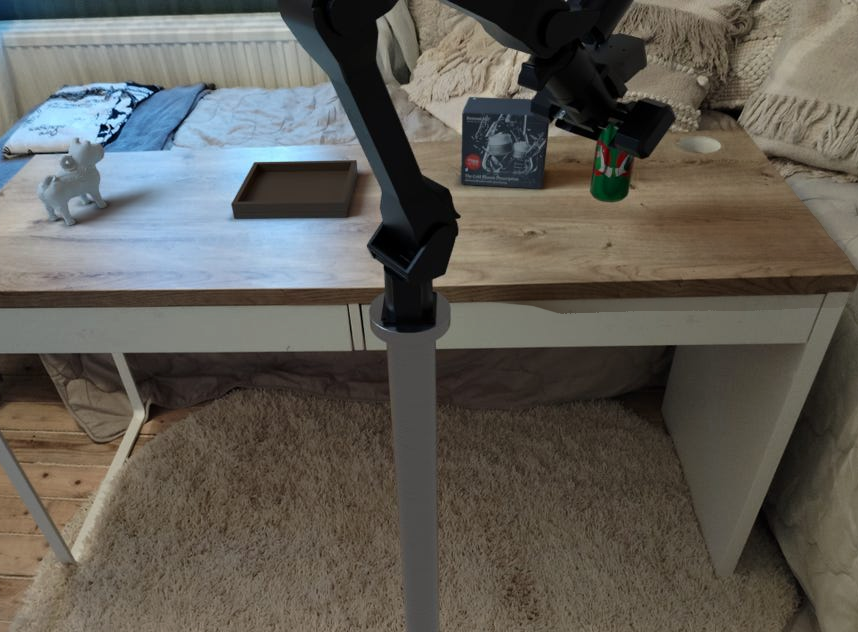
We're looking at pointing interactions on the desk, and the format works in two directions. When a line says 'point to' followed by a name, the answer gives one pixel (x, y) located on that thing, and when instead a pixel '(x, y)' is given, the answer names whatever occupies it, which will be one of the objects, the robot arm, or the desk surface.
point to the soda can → (610, 169)
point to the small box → (502, 143)
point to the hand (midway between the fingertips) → (623, 146)
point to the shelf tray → (296, 190)
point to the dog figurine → (73, 180)
